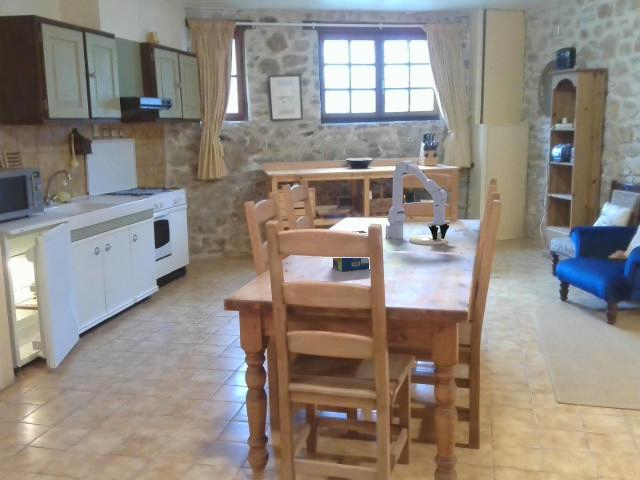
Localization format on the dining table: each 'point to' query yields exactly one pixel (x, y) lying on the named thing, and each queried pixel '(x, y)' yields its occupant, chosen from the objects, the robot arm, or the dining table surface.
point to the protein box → (351, 262)
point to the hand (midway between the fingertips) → (438, 239)
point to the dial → (428, 239)
